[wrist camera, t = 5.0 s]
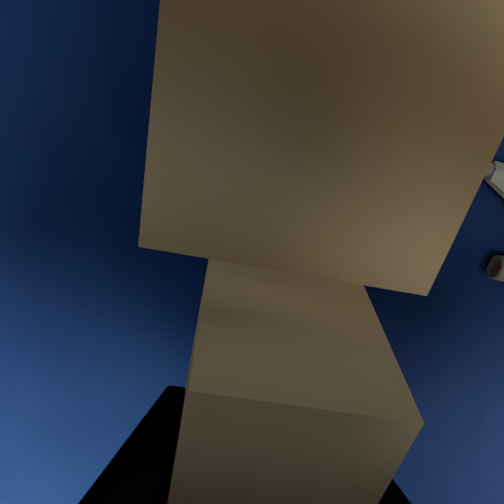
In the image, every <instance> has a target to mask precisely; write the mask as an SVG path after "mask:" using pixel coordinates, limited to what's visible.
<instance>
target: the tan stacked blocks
mask: <svg viewBox="0 0 504 504" xmlns="http://www.w3.org/2000/svg"><path fill="white" fill-rule="evenodd" d="M503 137H504V0H160V6H159V17H158V28H157V40H156V51H155V62H154V74H153V85H152V96H151V107H150V119H149V130H148V141H147V153H146V164H145V175H144V187H143V198H142V209H141V220H140V232H139V243H138V247H143V248H148V249H154V250H160V251H166V252H172V253H178V254H184V255H189V256H195V257H201V258H207V259H208V265H207V270H206V276H205V282H204V287H203V293H202V298H201V304H200V309H199V315H198V321H197V326H196V332H195V337H194V343H193V348H192V354H191V360H190V365H189V371H188V376H187V382H186V387H185V388H186V391H185V397H184V404H183V410H182V416H181V422H180V429H179V435H178V441H177V447H176V452H175V458H174V463H173V469H172V474H171V480H170V485H169V491H168V496H167V502H166V504H378V503H379V501H380V499H381V498H382V496H383V494H384V492H385V491H386V489H387V487H388V486H389V484H390V482H391V480H392V479H393V477H394V475H395V473H396V472H397V470H398V468H399V466H400V465H401V463H402V461H403V459H404V458H405V456H406V454H407V452H408V451H409V449H410V447H411V445H412V444H413V442H414V440H415V438H416V437H417V435H418V433H419V431H420V430H421V428H422V426H423V425H424V422H423V419H422V417H421V415H420V412H419V410H418V408H417V406H416V403H415V401H414V399H413V396H412V394H411V392H410V390H409V387H408V385H407V383H406V381H405V378H404V376H403V374H402V371H401V369H400V367H399V365H398V362H397V360H396V358H395V356H394V353H393V351H392V349H391V346H390V344H389V342H388V340H387V337H386V335H385V333H384V330H383V328H382V326H381V324H380V321H379V319H378V317H377V315H376V312H375V310H374V308H373V305H372V303H371V301H370V299H369V296H368V294H367V292H366V290H365V287H364V285H365V286H371V287H377V288H383V289H388V290H394V291H400V292H406V293H412V294H418V295H424V296H427V295H428V293H429V291H430V289H431V287H432V285H433V283H434V280H435V278H436V276H437V274H438V272H439V270H440V268H441V266H442V264H443V262H444V260H445V258H446V255H447V253H448V251H449V249H450V247H451V245H452V243H453V241H454V239H455V237H456V235H457V233H458V230H459V228H460V226H461V224H462V222H463V220H464V218H465V216H466V214H467V212H468V210H469V208H470V205H471V203H472V201H473V199H474V197H475V195H476V193H477V191H478V189H479V187H480V185H481V183H482V180H483V178H484V176H485V174H486V172H487V170H488V168H489V166H490V164H491V162H492V160H493V158H494V155H495V153H496V151H497V149H498V147H499V145H500V143H501V141H502V139H503Z"/></svg>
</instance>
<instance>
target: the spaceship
mask: <svg viewBox="0 0 504 504" xmlns="http://www.w3.org/2000/svg"><path fill="white" fill-rule="evenodd" d="M484 180H485V181H486V182H487V183H488V184H489V185H490V186H491V187H492V188H493V189H494V190H495V191H497V192H498V193H499V194H500V195H501V196H502V197H503V198H504V163H502V162H498V161H492V162H491V164H490V166H489V168H488V170H487V172H486V174H485V176H484ZM487 274H488V277H489V278H490V279H493V280H497V281H502V282H504V256H501V255H495V256H494V257H493V258H492V259H491V260H490V262H489V264H488V267H487Z"/></svg>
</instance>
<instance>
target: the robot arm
mask: <svg viewBox="0 0 504 504" xmlns="http://www.w3.org/2000/svg"><path fill="white" fill-rule="evenodd" d="M185 391H186V388H184V387H178V386H168V387H167V388H166V389H165V390H164V391H163V393H162V394H161V395H160V397H159V398H158V399H157V400H156V402H155V403H154V404H153V406H152V407H151V408H150V410H149V411H148V412H147V414H146V415H145V416H144V418H143V419H142V420H141V422H140V423H139V424H138V426H137V427H136V428H135V429H134V431H133V432H132V433H131V435H130V436H129V437H128V439H127V440H126V441H125V443H124V444H123V445H122V447H121V448H120V449H119V451H118V452H117V453H116V455H115V456H114V457H113V458H112V460H111V461H110V462H109V464H108V465H107V466H106V468H105V469H104V470H103V472H102V473H101V474H100V476H99V477H98V478H97V480H96V481H95V482H94V484H93V485H92V486H91V487H90V489H89V490H88V491H87V493H86V494H85V495H84V497H83V498H82V499H81V501H80V502H79V503H78V504H166V502H167V496H168V491H169V485H170V480H171V474H172V469H173V463H174V458H175V452H176V447H177V441H178V435H179V429H180V422H181V416H182V410H183V404H184V397H185ZM378 504H411V502H410V501H409V500H408V498H407V497H406V496H405V494H404V493H403V492H402V490H401V489H400V488H399V486H398V485H397V484H396V482H395V481H394V480H393V479H392V480H391V482H390V484H389V486H388V487H387V489H386V491H385V492H384V494H383V496H382V498H381V499H380V501H379V503H378Z"/></svg>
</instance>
